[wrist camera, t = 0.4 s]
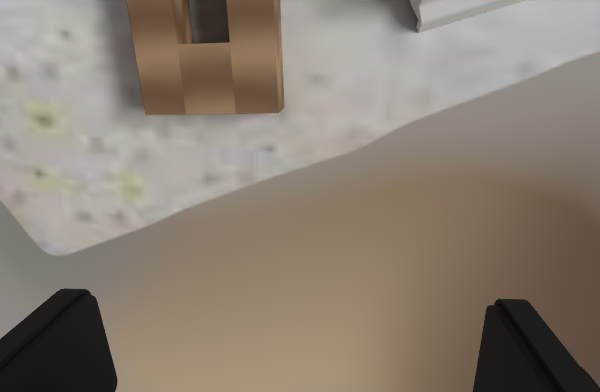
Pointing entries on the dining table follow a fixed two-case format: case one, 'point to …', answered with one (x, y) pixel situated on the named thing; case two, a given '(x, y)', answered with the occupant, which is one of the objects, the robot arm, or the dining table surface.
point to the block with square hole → (208, 59)
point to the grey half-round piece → (451, 10)
